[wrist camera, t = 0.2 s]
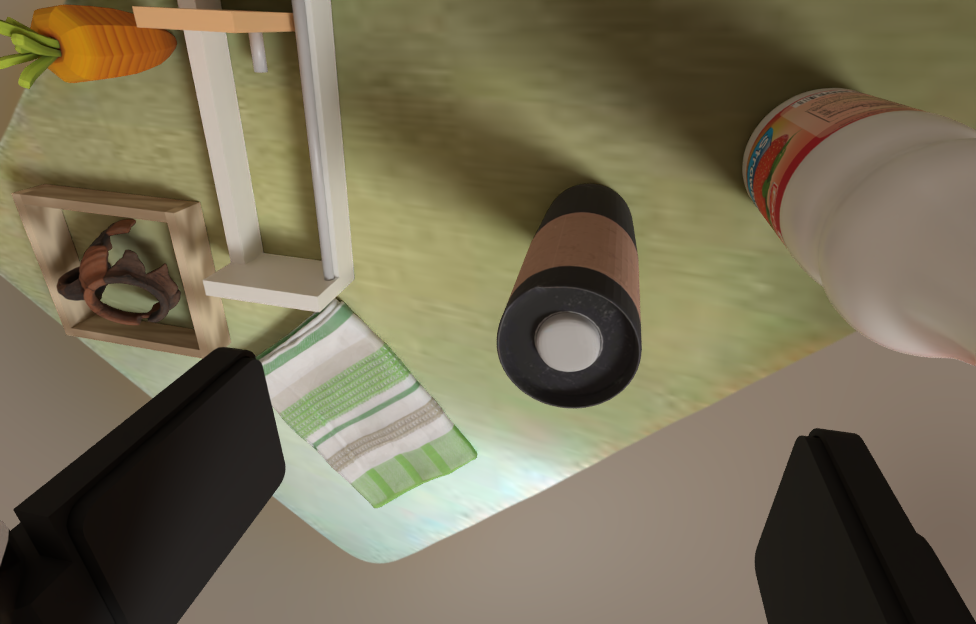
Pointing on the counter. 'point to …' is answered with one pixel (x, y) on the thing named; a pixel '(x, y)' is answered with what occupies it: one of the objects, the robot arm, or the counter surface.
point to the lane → (218, 104)
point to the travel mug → (576, 303)
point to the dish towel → (361, 406)
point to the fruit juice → (875, 213)
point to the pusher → (219, 24)
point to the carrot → (84, 44)
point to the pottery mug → (117, 280)
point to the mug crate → (60, 257)
